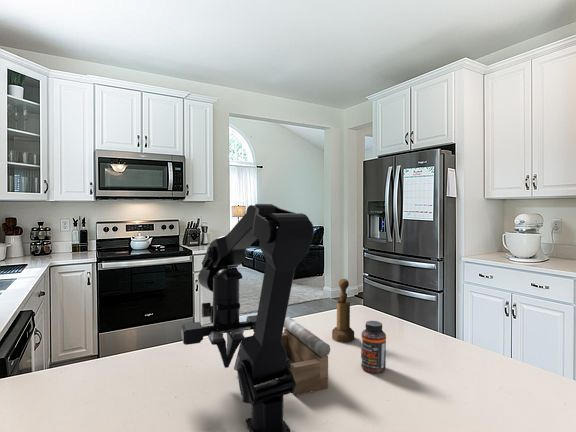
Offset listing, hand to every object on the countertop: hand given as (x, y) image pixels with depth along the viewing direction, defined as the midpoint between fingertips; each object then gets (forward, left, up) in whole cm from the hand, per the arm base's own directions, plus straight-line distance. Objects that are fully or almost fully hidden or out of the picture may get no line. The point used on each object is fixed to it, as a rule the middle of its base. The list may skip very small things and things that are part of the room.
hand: (226, 366), depth 79 cm
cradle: (0, -16, -4) cm, 17 cm away
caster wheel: (+4, -10, -4) cm, 12 cm away
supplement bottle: (-6, -35, -4) cm, 36 cm away
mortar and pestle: (+14, -39, -4) cm, 42 cm away
